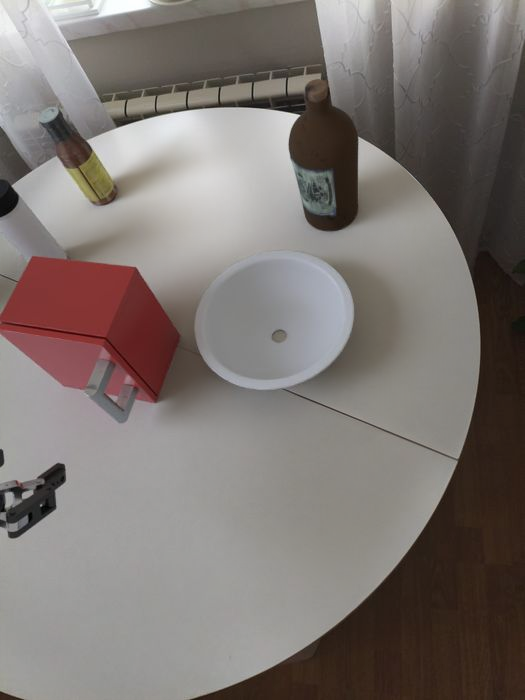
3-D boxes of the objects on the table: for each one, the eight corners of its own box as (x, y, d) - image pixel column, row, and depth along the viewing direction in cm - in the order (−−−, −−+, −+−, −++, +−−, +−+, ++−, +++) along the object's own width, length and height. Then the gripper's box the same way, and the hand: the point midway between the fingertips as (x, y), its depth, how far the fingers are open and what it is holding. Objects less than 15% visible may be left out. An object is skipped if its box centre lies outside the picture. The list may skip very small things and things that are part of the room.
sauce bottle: (117, 180, 112) (69, 95, 95) (118, 202, 109) (68, 119, 92) (87, 189, 113) (33, 106, 96) (87, 211, 110) (32, 129, 93)
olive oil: (319, 182, 101) (301, 55, 80) (372, 197, 97) (368, 68, 76) (290, 224, 98) (263, 103, 76) (344, 242, 94) (332, 120, 72)
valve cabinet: (158, 396, 87) (105, 336, 70) (66, 379, 91) (-3, 320, 75) (181, 336, 91) (136, 266, 75) (92, 323, 96) (32, 255, 80)
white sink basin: (252, 257, 96) (244, 232, 90) (382, 302, 87) (381, 277, 81) (178, 370, 88) (163, 351, 82) (311, 433, 79) (306, 416, 73)
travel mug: (42, 286, 102) (-27, 211, 85) (35, 261, 106) (-32, 185, 89) (73, 271, 103) (10, 194, 86) (65, 247, 106) (3, 169, 89)
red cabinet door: (143, 436, 84) (85, 384, 68) (49, 416, 89) (-26, 364, 72) (157, 397, 86) (105, 339, 70) (65, 380, 91) (-3, 322, 75)
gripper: (-39, 531, 45) (82, 445, 60) (-164, 494, 50) (-22, 422, 64) (-28, 605, 48) (86, 504, 62) (-149, 563, 52) (-15, 478, 67)
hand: (31, 462), depth 63 cm, fingers open, 8 cm apart
